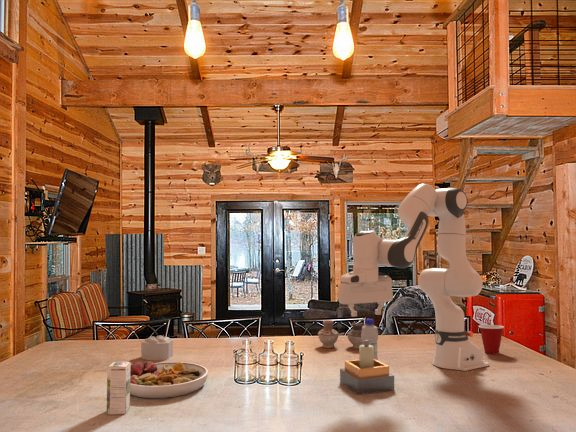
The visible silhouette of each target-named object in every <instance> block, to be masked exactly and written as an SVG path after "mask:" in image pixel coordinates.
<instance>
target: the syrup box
mask: <svg viewBox="0 0 576 432" xmlns="http://www.w3.org/2000/svg"><path fill="white" fill-rule="evenodd" d="M131 365H132V363H131V362H129V361H113V362H112V363H110V365H109V366H107V372H106V374H107V377H106V378H107V379H106V380H107V381H106V415H107V416H108V415H109V416H111V415H126V414H127V413H128V411H129V409H130V406H131V394H130V366H131Z"/></svg>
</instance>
